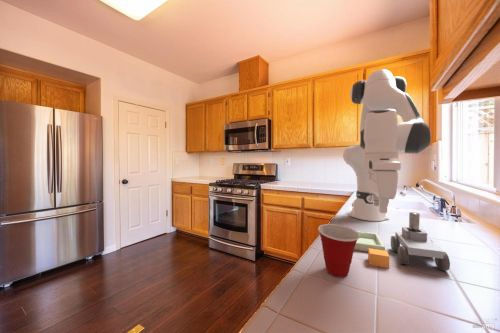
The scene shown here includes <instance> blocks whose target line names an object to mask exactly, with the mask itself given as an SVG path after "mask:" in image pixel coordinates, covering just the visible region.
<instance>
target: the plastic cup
mask: <svg viewBox="0 0 500 333" xmlns="http://www.w3.org/2000/svg"><path fill="white" fill-rule="evenodd" d="M317 231H318V232H319V236H320V241H321V246H322V254H323V260H324V265H325V269H326V272H327V274H329V275H331V276H334V277H338V278H344V277H348V275H349V273H350V268H351V264H352V261H353V256H354V252H355V250H354V248H355V245H356V242H357V240H358V239H359V238H360V235H359V233H358V232H356V231H357V230H355V229H352V228H350V227H348V226H345V225H341V224H340V225H339V224H335V223H333V224H332V223H326V224H325V223H324V224H321V225H319V226H318V227H317Z"/></svg>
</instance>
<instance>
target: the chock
mask: <svg viewBox="0 0 500 333" xmlns="http://www.w3.org/2000/svg"><path fill="white" fill-rule="evenodd" d="M390 257H391V256H390V255H389V252H388V250H385V251H384V250H377V249H370V248H368V254H367V258H368V263H369V265H372V266H376V267H377V266H378V267H383V268H388V269H389V268H390Z"/></svg>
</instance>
